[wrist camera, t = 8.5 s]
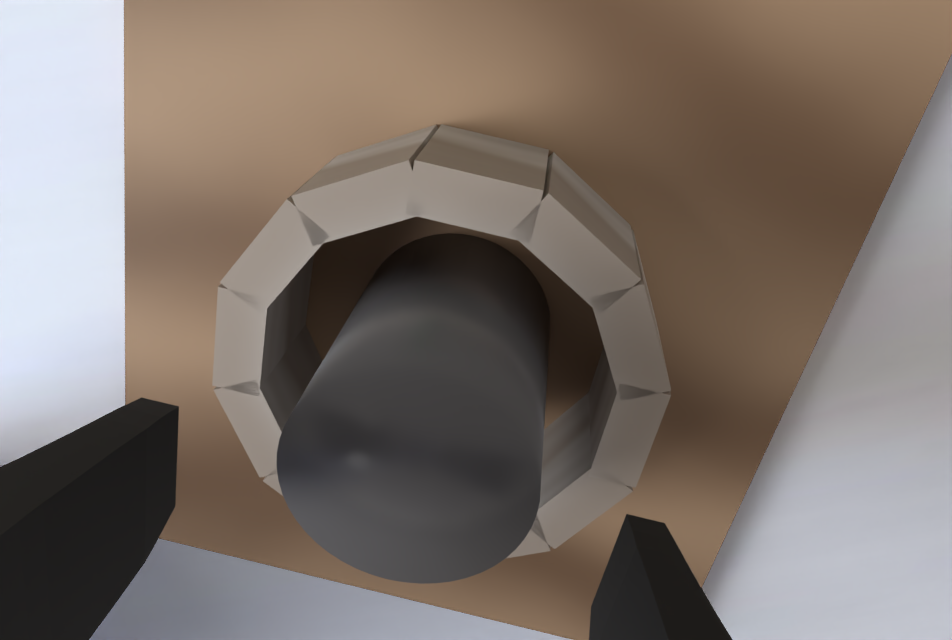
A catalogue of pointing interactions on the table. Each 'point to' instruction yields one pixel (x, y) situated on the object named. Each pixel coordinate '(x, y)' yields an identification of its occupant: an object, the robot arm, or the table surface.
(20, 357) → the table surface
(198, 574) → the table surface
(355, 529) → the grey rounded cylinder
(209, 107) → the lens collar
